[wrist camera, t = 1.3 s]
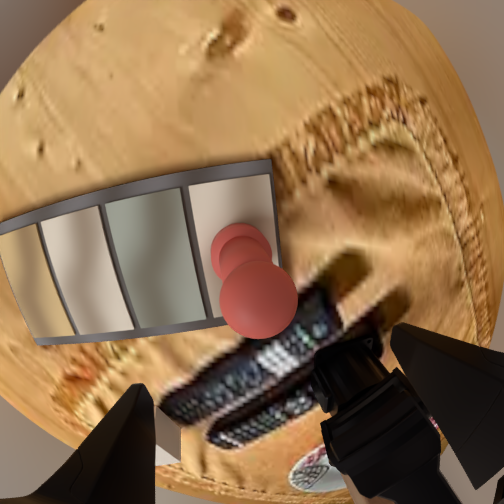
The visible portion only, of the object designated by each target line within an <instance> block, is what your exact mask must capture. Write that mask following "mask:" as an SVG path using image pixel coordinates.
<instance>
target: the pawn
mask: <svg viewBox="0 0 504 504" xmlns="http://www.w3.org/2000/svg"><path fill="white" fill-rule="evenodd" d="M211 263H212V267H213V269H214V272H215V273H216V275H217V276H218V277H219V278H220V279H221V280H222V283H223V285H222V287H221V291H220V297H219V303H220V309H221V313H222V315H223V317H224V319H225V321H226V322H227V324H228V325H229V326H230V327H231V328H232V329H233V330H234V331H236V332H237V333H239V334H241V335H243V336H245V337H249V338H254V339H263V338H268V337H272V336H274V335H276V334H278V333H280V332H281V331H283V330H284V329H285V328H286V327H287V326H288V325H289V323H290V322H291V321H292V319H293V317H294V315H295V312H296V309H297V304H298V296H297V290H296V287H295V284H294V282H293V280H292V279H291V277H290V276H289V275H288V274H287V273H286V272H285V271H284V270H283V269H282V268H280V267H279V266H277V265H275V264H273V262H272V250H271V246H270V244H269V242H268V241H267V239H266V238H265V237H264V235H263V234H262V233H261V232H260V231H259V230H258V229H257V228H256V227H254V226H252V225H249V224H246V223H234V224H231V225H228V226H226V227H224V228H223V229H221V230H220V231H219V232H218V233H217V234H216V236H215V237H214V239H213V241H212V244H211Z"/></svg>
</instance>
